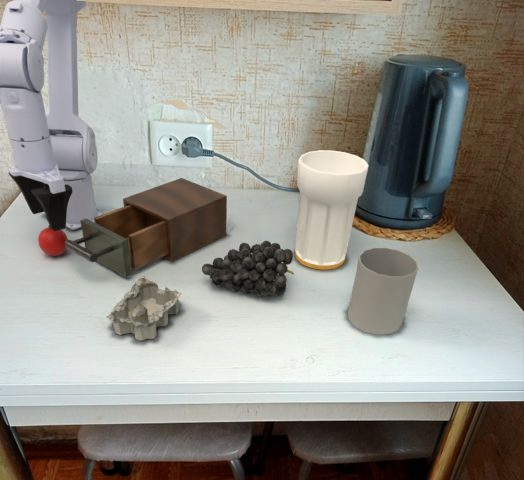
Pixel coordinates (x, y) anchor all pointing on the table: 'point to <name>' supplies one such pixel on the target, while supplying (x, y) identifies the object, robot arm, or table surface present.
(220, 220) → the cabinet
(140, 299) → the egg carton
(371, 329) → the cup
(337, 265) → the cup
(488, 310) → the table surface
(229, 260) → the fruit
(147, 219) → the drawer
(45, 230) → the apple
